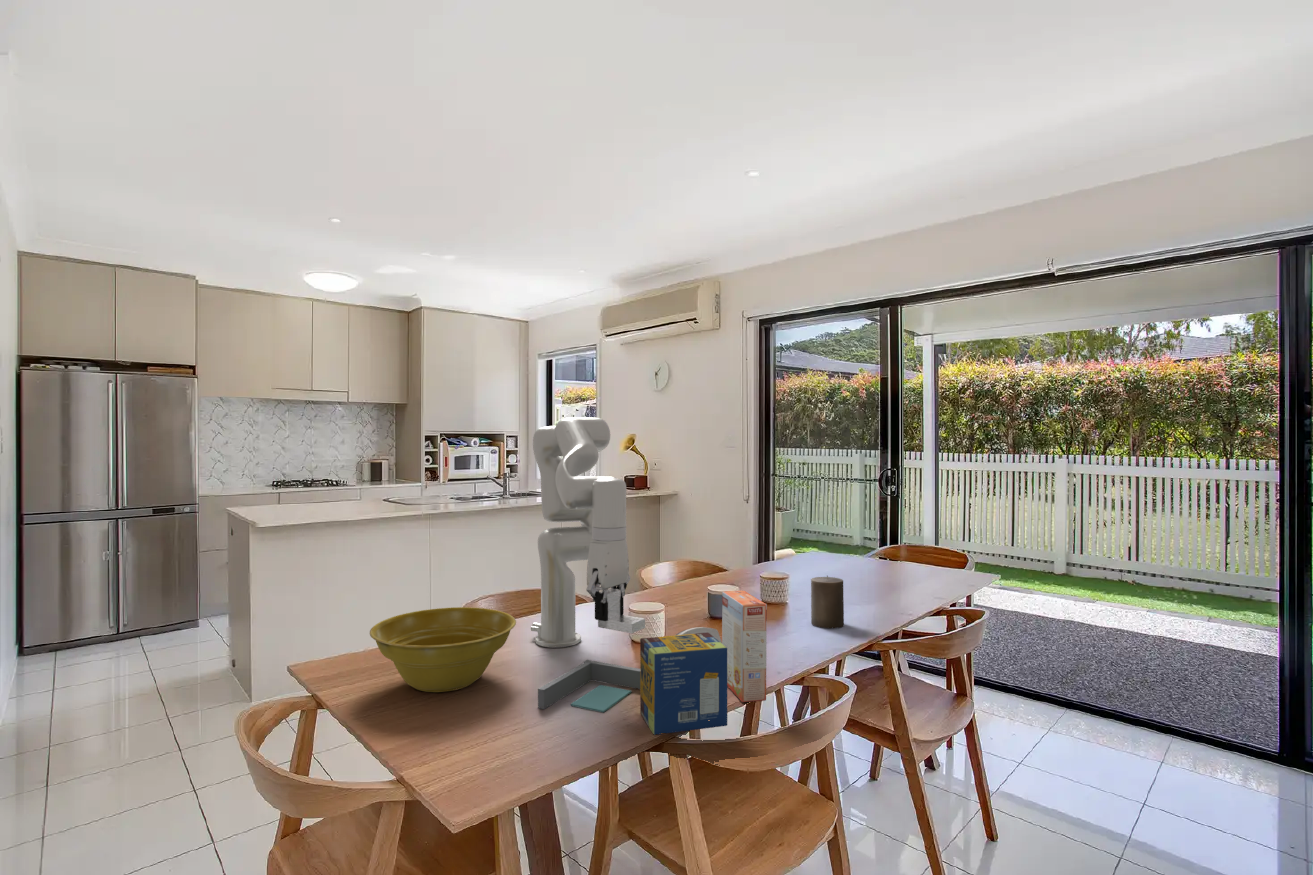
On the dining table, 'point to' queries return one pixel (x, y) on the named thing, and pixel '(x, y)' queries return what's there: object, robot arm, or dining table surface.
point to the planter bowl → (442, 645)
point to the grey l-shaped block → (619, 615)
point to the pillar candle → (827, 602)
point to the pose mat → (601, 698)
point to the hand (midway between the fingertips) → (609, 616)
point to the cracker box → (745, 644)
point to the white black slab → (701, 630)
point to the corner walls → (587, 680)
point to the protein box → (683, 682)
